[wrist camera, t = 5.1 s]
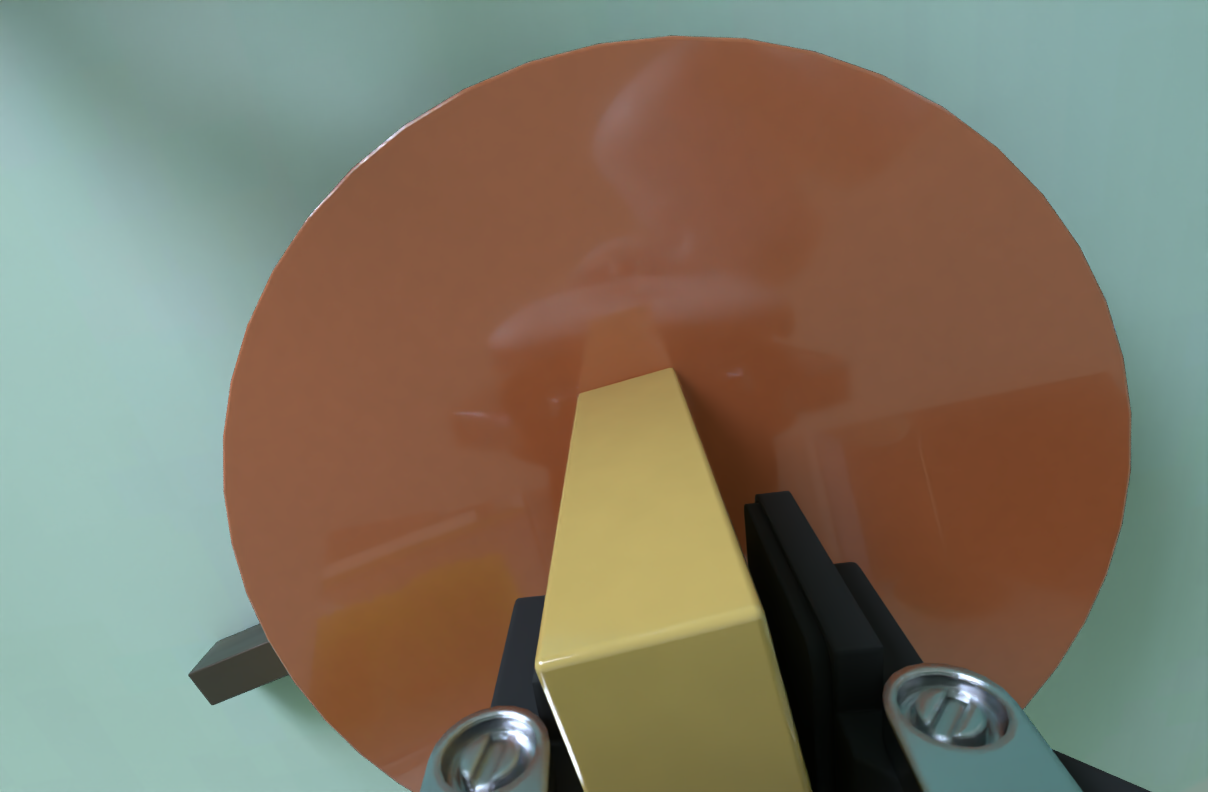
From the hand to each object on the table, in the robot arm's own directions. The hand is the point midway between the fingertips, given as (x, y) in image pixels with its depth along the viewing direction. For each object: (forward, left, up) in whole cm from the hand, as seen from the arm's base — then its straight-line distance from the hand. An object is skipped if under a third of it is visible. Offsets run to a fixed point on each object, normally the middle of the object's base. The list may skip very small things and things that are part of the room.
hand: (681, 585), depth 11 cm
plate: (0, 0, -2) cm, 2 cm away
